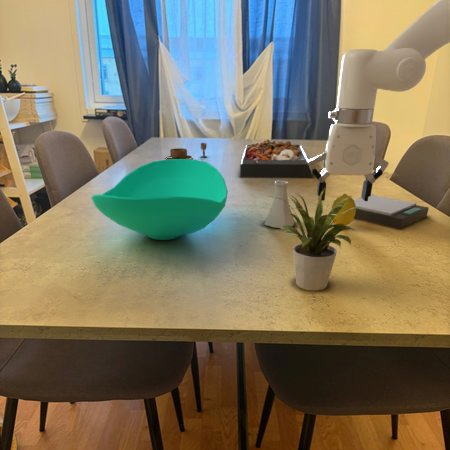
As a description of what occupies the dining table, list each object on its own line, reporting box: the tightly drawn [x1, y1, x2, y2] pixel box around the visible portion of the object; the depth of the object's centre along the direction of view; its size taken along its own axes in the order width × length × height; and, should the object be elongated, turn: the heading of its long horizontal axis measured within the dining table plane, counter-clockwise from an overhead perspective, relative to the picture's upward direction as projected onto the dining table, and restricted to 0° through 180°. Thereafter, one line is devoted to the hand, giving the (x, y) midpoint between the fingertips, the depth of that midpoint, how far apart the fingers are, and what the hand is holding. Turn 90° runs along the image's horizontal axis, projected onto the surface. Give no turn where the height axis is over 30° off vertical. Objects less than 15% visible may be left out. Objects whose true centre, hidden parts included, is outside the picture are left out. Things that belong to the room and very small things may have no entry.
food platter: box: [239, 139, 312, 179], centre depth 169 cm, size 45×25×10 cm, turn 175°
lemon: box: [330, 193, 356, 226], centre depth 99 cm, size 6×6×8 cm
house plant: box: [269, 188, 357, 292], centre depth 70 cm, size 14×14×16 cm
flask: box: [263, 180, 295, 229], centre depth 101 cm, size 7×7×10 cm
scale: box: [353, 194, 429, 230], centre depth 108 cm, size 16×14×3 cm
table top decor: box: [91, 159, 229, 241], centre depth 94 cm, size 40×28×13 cm
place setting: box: [164, 142, 208, 160], centre depth 181 cm, size 18×20×6 cm
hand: (342, 199), depth 98 cm, fingers open, 9 cm apart
